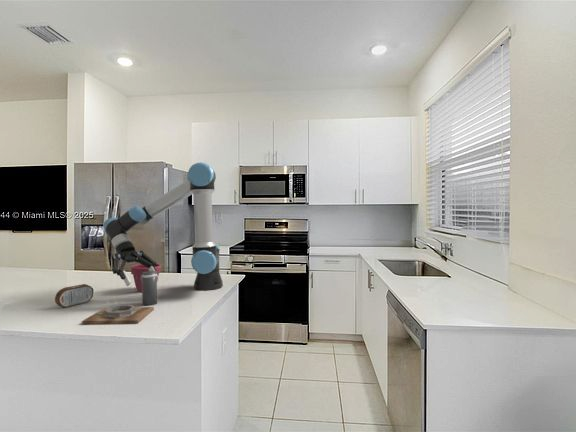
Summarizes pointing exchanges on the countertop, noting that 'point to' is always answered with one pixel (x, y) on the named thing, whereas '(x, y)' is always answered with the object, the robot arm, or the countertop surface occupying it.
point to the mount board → (119, 320)
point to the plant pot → (137, 274)
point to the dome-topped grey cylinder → (149, 288)
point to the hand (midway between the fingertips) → (143, 281)
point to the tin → (74, 295)
